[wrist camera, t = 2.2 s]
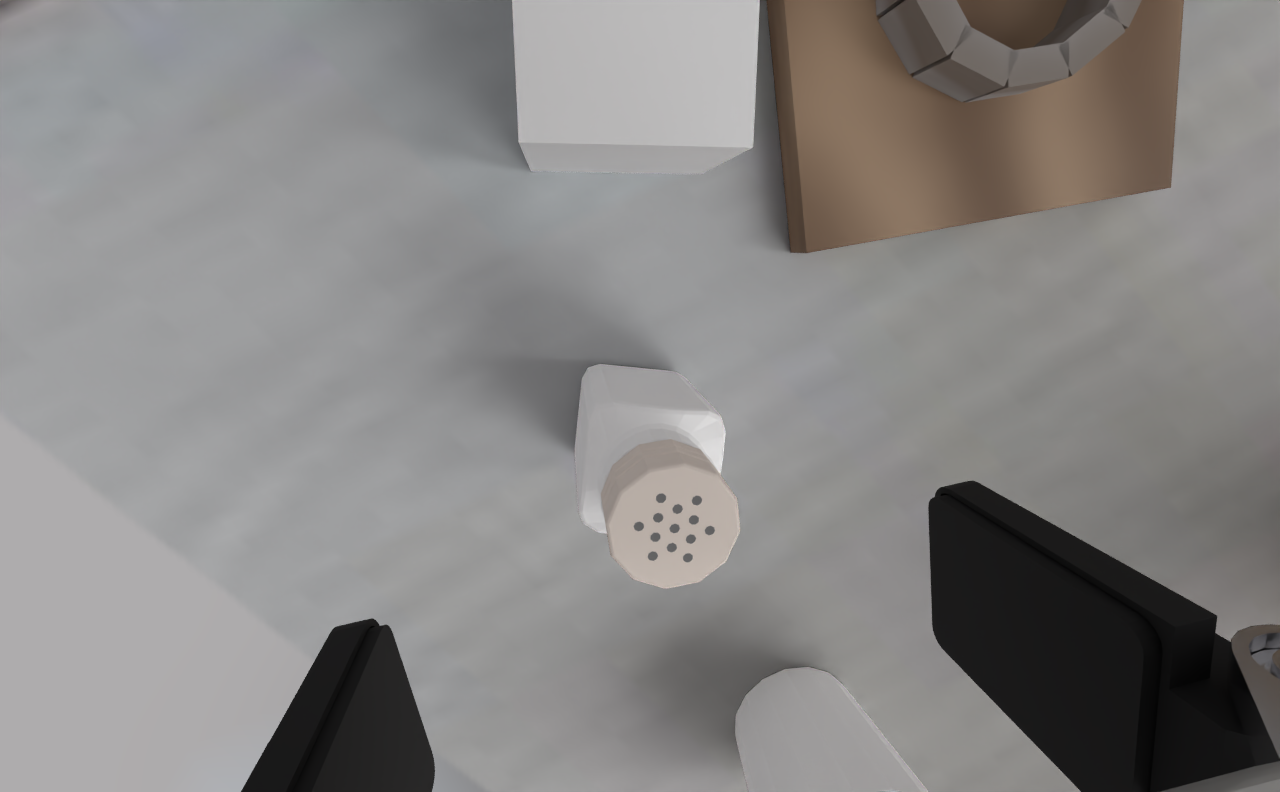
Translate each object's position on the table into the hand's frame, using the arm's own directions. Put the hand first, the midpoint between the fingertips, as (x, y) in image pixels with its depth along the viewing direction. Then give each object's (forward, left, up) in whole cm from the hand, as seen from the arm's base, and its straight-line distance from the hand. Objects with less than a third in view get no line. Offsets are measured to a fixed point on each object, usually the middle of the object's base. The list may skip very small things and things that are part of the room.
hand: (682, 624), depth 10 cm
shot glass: (-6, +16, -13) cm, 22 cm away
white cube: (-2, -11, -14) cm, 18 cm away
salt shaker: (-1, 0, -13) cm, 13 cm away
